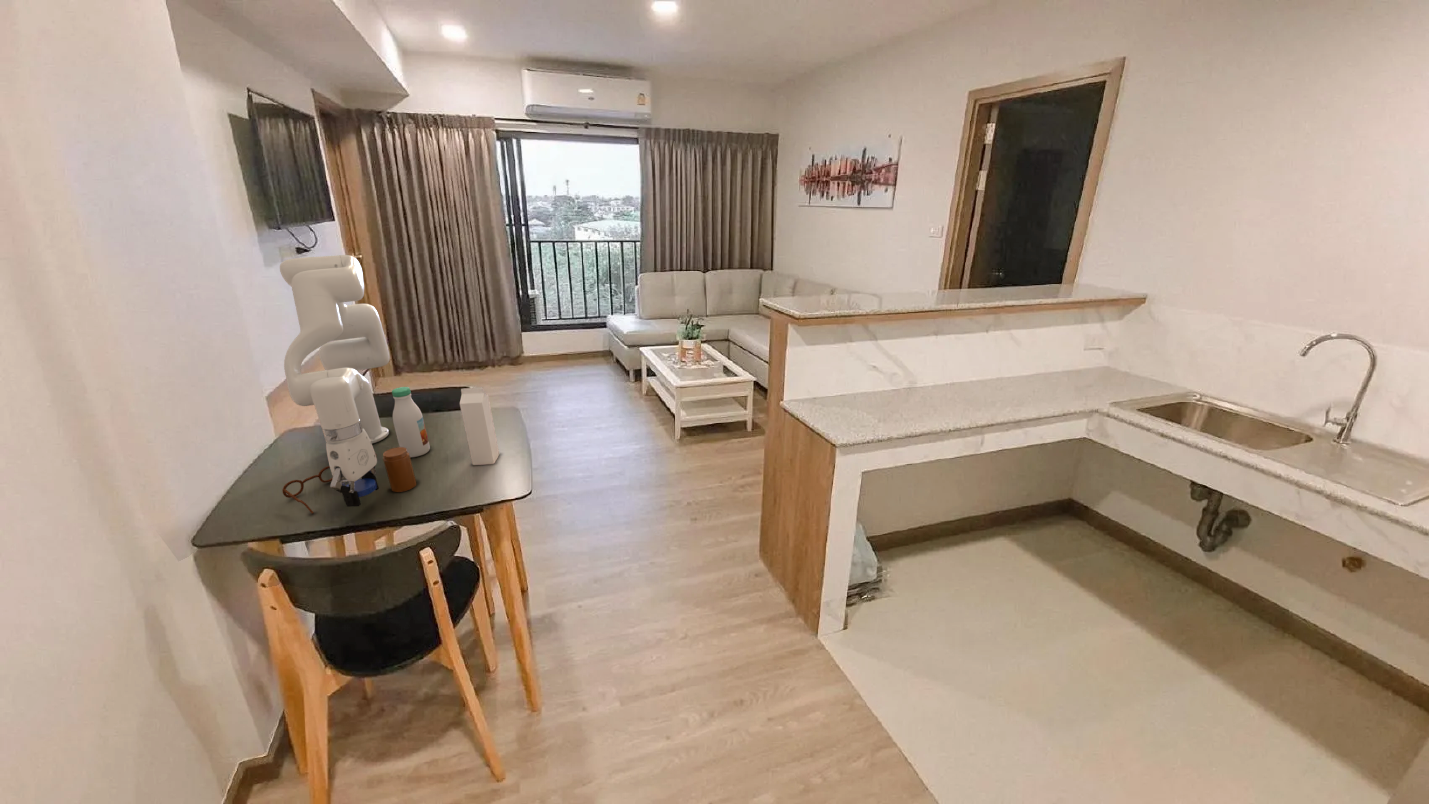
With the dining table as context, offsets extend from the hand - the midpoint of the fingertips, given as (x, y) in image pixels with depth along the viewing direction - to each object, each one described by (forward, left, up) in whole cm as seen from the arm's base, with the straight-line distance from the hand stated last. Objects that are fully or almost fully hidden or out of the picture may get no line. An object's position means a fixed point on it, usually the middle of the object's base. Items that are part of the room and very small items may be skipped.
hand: (363, 497), depth 134 cm
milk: (+1, +32, -4) cm, 32 cm away
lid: (0, 0, +3) cm, 3 cm away
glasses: (-16, -3, -4) cm, 17 cm away
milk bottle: (-21, +23, -4) cm, 32 cm away
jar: (-4, +11, -4) cm, 12 cm away
